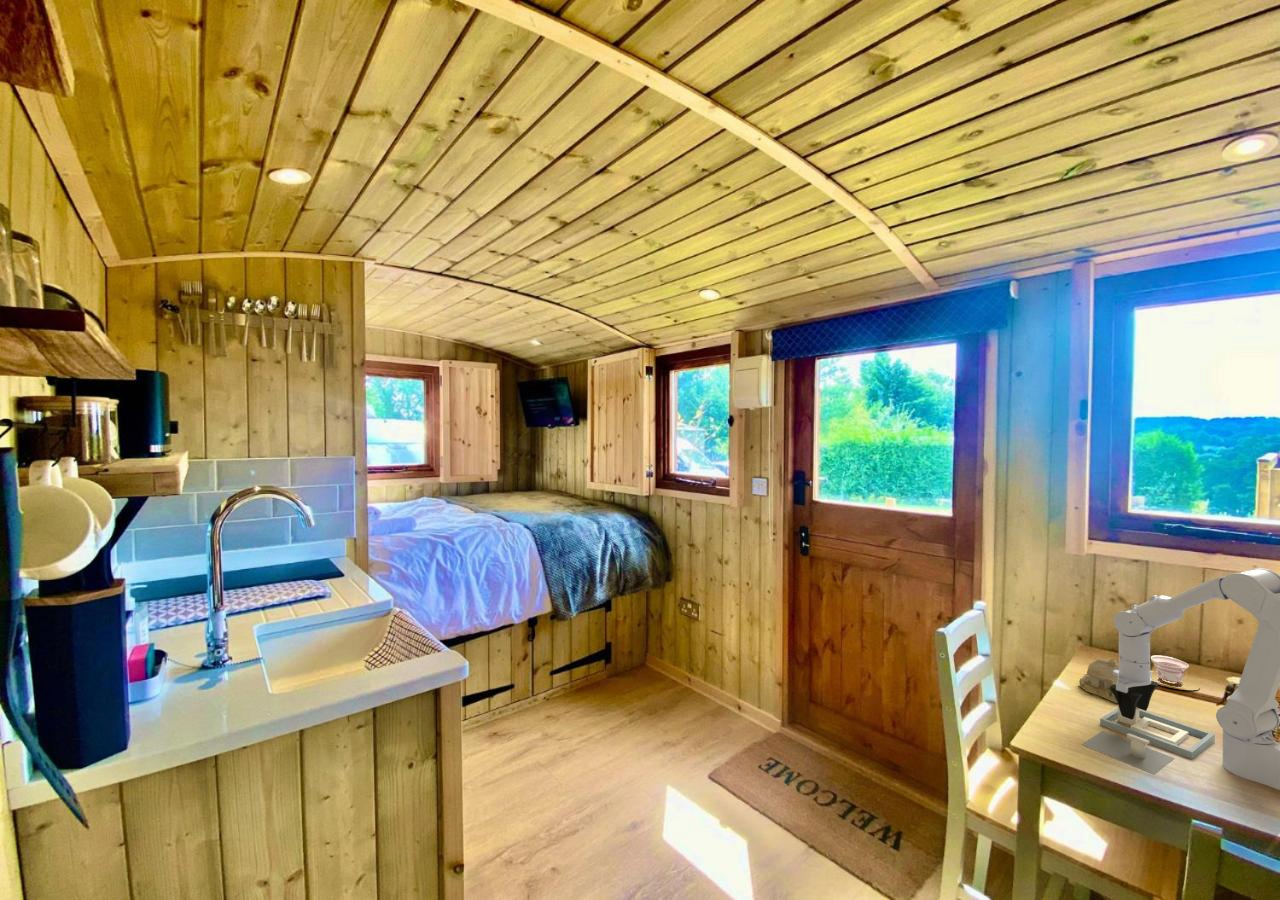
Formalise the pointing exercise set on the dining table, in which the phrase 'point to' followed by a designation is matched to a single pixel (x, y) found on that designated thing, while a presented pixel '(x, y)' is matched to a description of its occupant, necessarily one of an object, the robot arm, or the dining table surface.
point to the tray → (1190, 753)
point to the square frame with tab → (1144, 722)
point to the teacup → (1169, 668)
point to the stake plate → (1129, 751)
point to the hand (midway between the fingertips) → (1134, 713)
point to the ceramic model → (1100, 678)
